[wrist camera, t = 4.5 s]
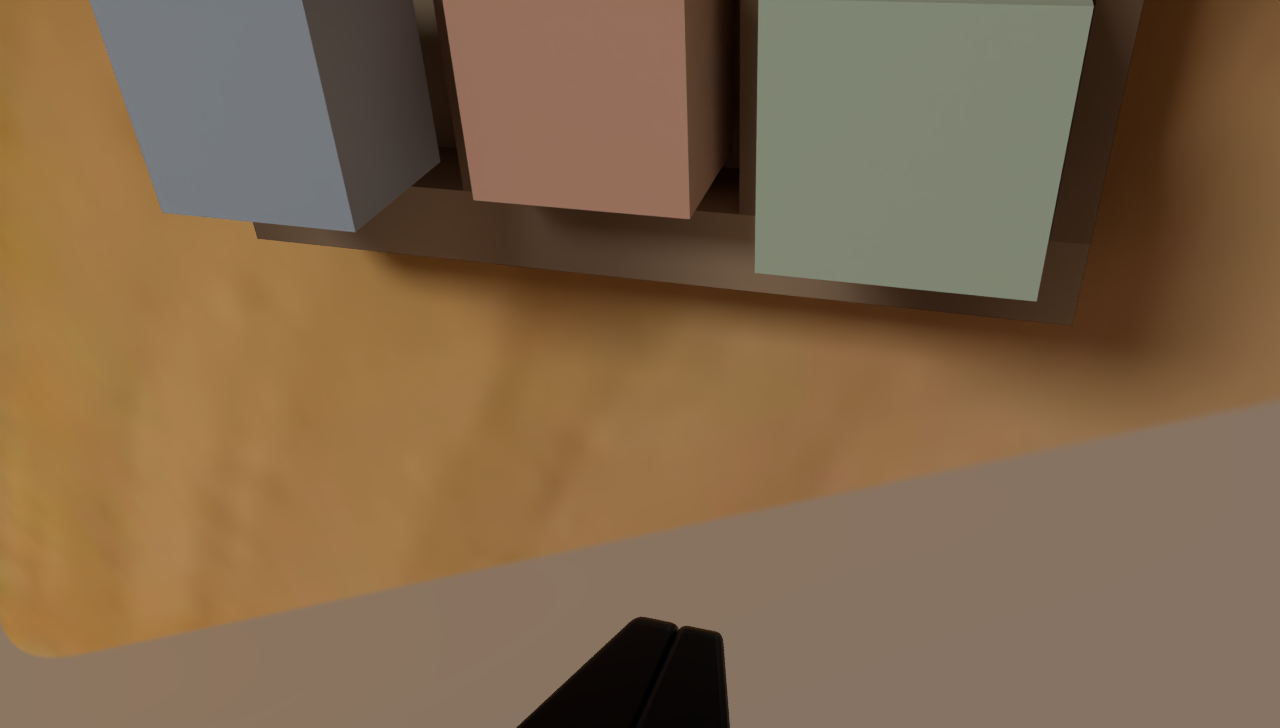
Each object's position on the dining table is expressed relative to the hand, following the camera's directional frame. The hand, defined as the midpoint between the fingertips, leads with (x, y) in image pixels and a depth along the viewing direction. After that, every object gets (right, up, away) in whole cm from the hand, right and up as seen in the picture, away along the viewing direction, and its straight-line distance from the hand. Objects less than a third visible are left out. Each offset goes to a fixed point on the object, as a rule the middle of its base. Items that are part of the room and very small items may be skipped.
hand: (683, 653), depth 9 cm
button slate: (-6, +8, +9) cm, 13 cm away
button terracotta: (-1, +8, +8) cm, 12 cm away
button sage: (+4, +7, +6) cm, 10 cm away
